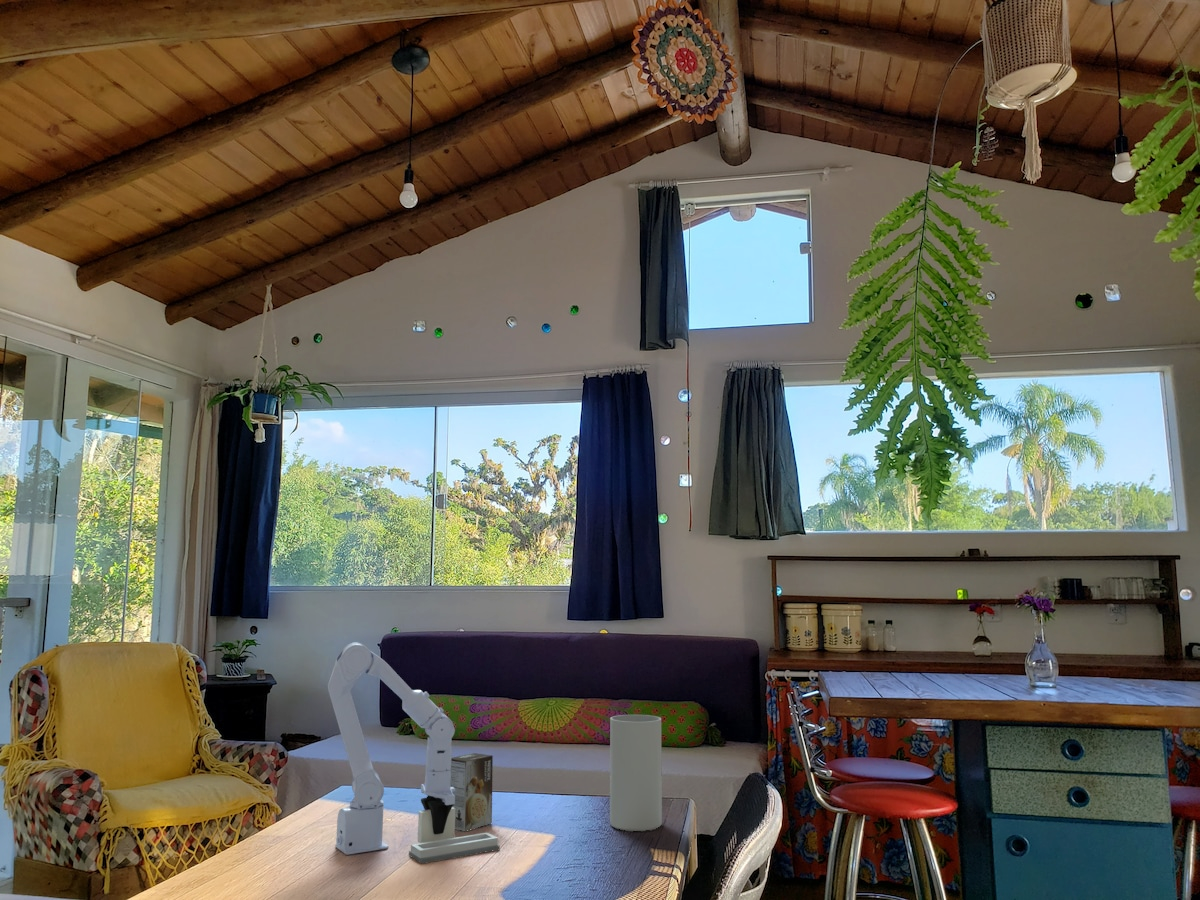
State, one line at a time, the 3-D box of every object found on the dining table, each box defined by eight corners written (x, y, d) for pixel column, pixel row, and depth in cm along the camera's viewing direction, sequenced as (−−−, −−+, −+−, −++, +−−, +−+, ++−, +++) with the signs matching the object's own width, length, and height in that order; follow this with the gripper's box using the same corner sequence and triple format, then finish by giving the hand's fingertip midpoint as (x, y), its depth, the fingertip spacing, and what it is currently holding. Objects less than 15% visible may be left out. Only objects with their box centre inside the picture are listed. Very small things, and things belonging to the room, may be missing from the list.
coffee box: (473, 820, 219) (475, 752, 222) (492, 824, 215) (494, 755, 218) (446, 827, 212) (448, 757, 214) (465, 832, 208) (466, 760, 210)
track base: (421, 863, 184) (422, 851, 185) (409, 855, 190) (409, 843, 190) (499, 849, 194) (499, 838, 195) (485, 842, 200) (485, 831, 200)
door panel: (421, 843, 197) (422, 813, 198) (417, 841, 199) (418, 811, 200) (454, 838, 202) (455, 808, 203) (450, 836, 203) (451, 806, 204)
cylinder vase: (663, 832, 208) (662, 722, 212) (609, 832, 209) (610, 721, 213) (660, 819, 221) (660, 714, 225) (610, 818, 221) (610, 714, 225)
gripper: (468, 772, 199) (466, 837, 197) (441, 762, 211) (439, 822, 209) (438, 776, 195) (436, 841, 193) (413, 765, 207) (411, 826, 205)
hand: (436, 832), depth 201 cm, fingers closed on door panel, 2 cm apart
